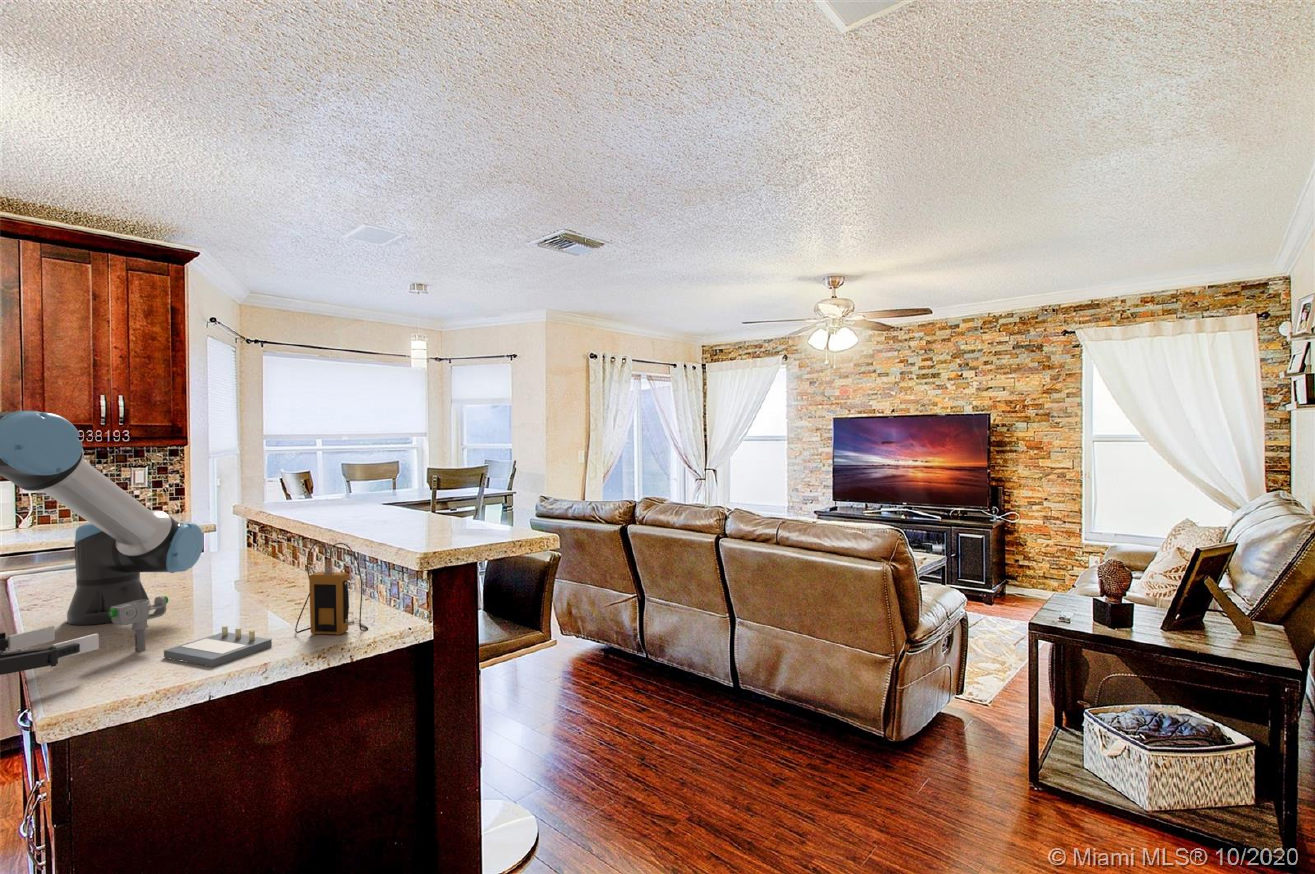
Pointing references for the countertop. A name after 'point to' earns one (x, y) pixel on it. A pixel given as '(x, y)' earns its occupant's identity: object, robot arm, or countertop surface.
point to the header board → (219, 648)
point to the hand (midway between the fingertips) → (75, 636)
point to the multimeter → (329, 600)
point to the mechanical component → (138, 616)
